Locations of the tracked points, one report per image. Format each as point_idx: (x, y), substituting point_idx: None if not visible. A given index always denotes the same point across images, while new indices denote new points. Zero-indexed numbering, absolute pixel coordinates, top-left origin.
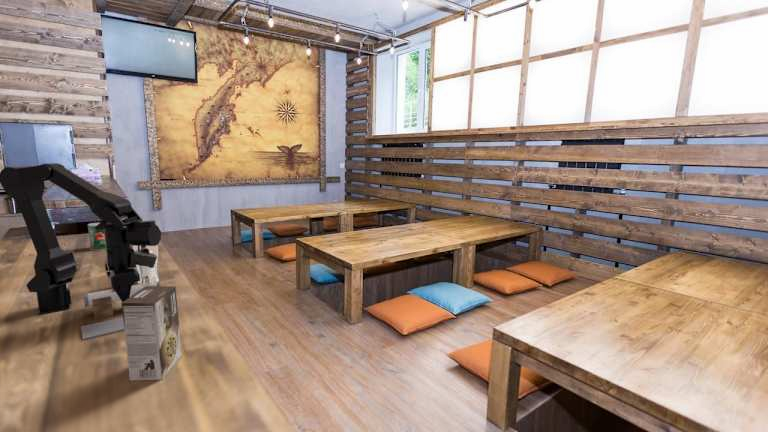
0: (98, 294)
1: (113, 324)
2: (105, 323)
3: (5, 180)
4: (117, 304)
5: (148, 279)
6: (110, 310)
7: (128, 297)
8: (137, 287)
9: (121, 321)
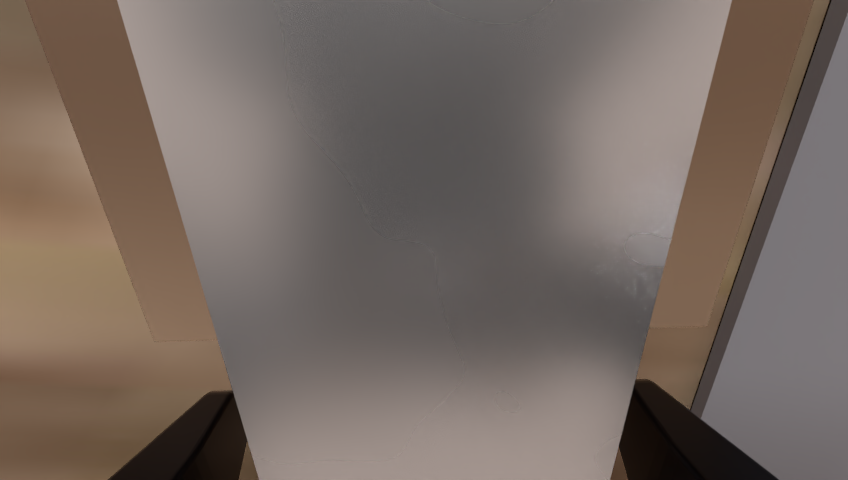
0: None
1: (844, 421)
2: None
3: None
4: (184, 350)
5: None
6: None
7: (754, 470)
8: (615, 433)
9: (841, 368)
